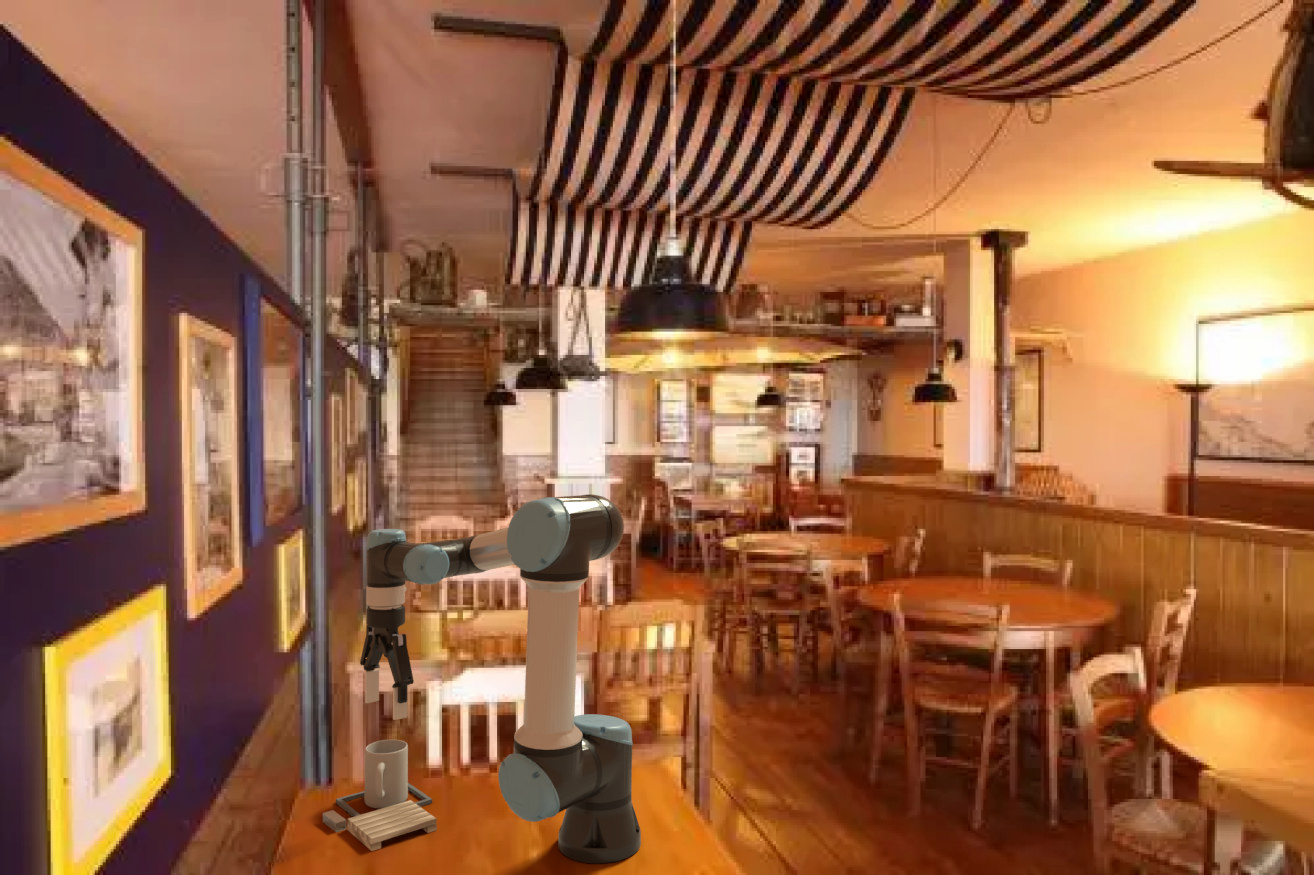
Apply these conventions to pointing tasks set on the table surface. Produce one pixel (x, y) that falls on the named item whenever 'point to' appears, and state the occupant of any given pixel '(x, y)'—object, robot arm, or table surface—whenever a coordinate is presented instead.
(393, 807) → the rack
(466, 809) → the table surface
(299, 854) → the table surface
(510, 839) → the table surface
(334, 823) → the grey rectangular bar
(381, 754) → the mug
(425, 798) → the socket frame
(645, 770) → the table surface
